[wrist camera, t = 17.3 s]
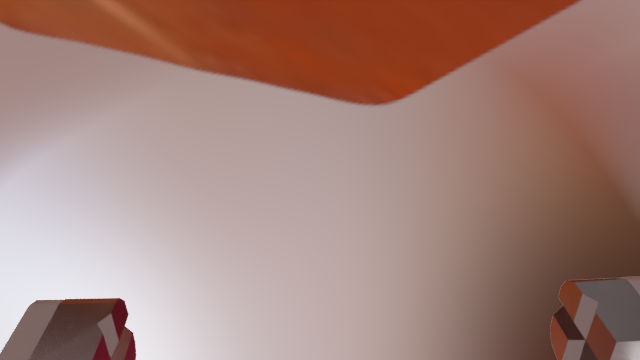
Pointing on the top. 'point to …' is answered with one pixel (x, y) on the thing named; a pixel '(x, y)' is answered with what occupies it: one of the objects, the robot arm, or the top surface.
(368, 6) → the top surface
